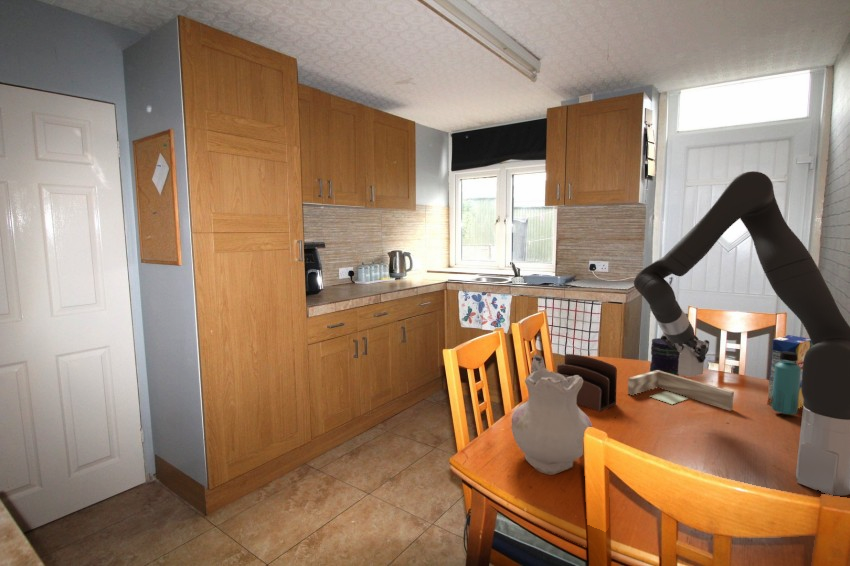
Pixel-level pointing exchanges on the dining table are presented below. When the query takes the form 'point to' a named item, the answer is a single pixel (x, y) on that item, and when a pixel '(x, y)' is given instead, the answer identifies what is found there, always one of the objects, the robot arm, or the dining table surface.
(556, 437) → the ceramic pitcher
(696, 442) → the dining table surface
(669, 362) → the storage jar
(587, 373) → the letter holder
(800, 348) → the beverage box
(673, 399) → the beige l-shaped piece
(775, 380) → the beverage bottle
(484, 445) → the dining table surface
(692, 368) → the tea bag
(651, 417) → the dining table surface
